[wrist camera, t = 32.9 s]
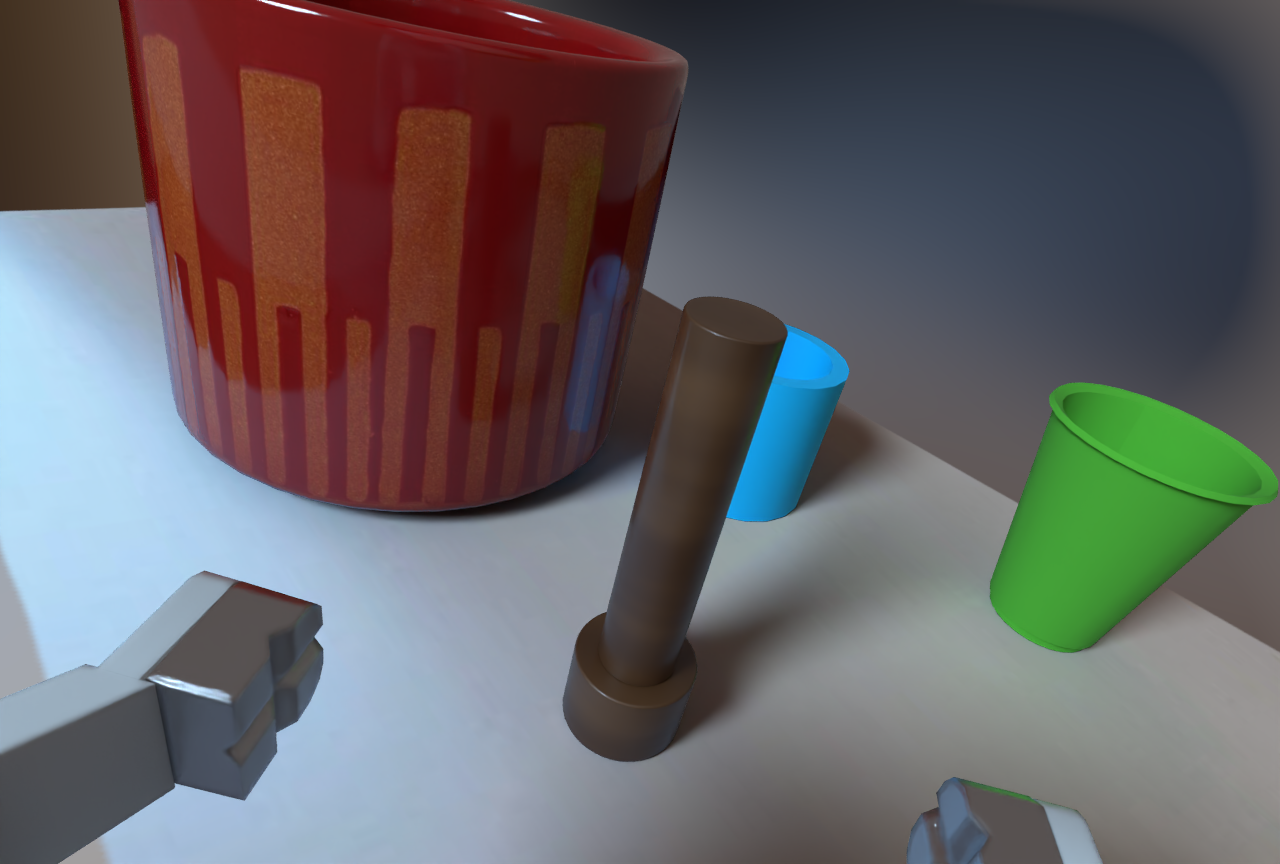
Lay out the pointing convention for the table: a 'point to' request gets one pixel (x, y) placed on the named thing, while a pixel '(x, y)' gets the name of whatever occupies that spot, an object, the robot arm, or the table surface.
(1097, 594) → the cup
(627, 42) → the planter
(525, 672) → the table surface
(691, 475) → the pestle
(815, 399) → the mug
